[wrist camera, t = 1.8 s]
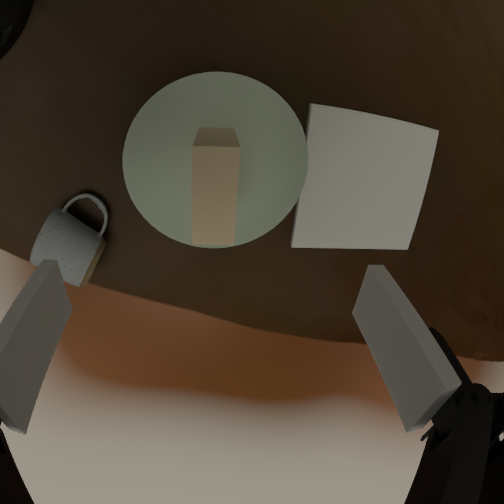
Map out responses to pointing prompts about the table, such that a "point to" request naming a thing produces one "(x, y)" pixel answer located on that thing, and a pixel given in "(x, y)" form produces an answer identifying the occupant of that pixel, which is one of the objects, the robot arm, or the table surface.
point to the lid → (215, 159)
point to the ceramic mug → (70, 243)
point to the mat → (361, 180)
